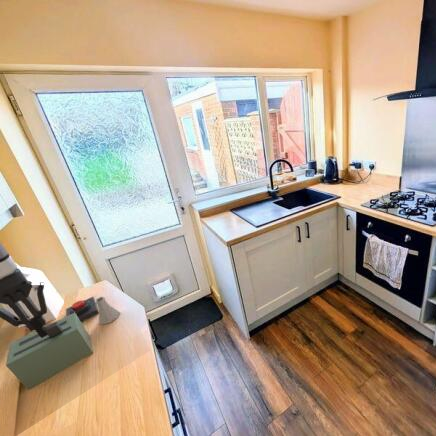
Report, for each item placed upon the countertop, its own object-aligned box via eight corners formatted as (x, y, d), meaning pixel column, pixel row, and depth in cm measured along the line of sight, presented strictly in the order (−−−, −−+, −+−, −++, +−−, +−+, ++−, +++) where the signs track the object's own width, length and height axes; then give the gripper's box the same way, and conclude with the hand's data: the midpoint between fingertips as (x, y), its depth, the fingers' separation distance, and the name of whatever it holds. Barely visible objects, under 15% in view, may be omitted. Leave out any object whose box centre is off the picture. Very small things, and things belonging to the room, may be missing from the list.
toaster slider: (50, 334, 81) (44, 326, 79) (62, 328, 82) (56, 321, 81) (50, 338, 79) (44, 331, 77) (62, 332, 81) (57, 325, 79)
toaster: (30, 366, 84) (9, 342, 79) (89, 335, 94) (74, 312, 89) (28, 390, 77) (5, 365, 72) (93, 353, 87) (77, 328, 82)
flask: (95, 323, 100) (84, 305, 96) (110, 310, 106) (100, 292, 102) (109, 325, 98) (98, 306, 94) (124, 311, 104) (114, 293, 100)
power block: (68, 312, 107) (63, 305, 106) (95, 300, 113) (91, 293, 112) (69, 327, 99) (64, 320, 97) (99, 313, 105) (95, 306, 103)
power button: (73, 307, 105) (71, 304, 104) (84, 302, 107) (82, 298, 106) (74, 311, 102) (72, 308, 101) (85, 306, 104) (83, 303, 104)
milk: (32, 312, 110) (-2, 264, 99) (64, 301, 115) (34, 255, 104) (21, 331, 100) (-20, 280, 89) (56, 318, 105) (21, 269, 94)
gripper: (-39, 293, 62) (15, 355, 72) (30, 269, 70) (70, 328, 80) (-32, 281, 67) (17, 340, 77) (32, 259, 75) (69, 316, 85)
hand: (44, 334), depth 78 cm, fingers closed
